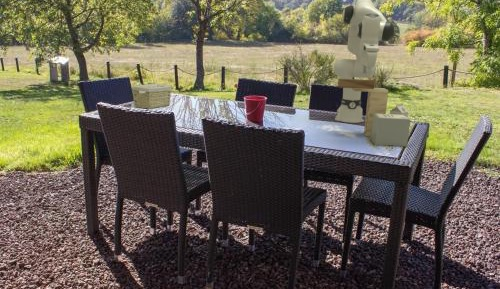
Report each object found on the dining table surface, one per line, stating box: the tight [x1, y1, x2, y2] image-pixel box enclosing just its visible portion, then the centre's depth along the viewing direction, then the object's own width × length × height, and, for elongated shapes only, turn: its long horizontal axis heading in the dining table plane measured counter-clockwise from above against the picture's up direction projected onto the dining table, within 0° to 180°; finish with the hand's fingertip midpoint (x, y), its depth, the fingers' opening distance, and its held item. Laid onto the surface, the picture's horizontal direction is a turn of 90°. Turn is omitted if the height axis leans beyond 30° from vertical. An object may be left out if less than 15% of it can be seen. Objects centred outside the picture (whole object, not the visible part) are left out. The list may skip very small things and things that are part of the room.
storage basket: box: [132, 83, 173, 110], centre depth 322 cm, size 24×16×15 cm
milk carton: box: [389, 103, 409, 118], centre depth 253 cm, size 7×7×19 cm
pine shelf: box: [352, 87, 389, 138], centre depth 257 cm, size 9×18×26 cm, turn 87°
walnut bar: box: [337, 78, 376, 89], centre depth 254 cm, size 4×19×4 cm, turn 87°
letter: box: [376, 113, 409, 119], centre depth 240 cm, size 11×14×1 cm
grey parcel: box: [370, 114, 411, 147], centre depth 242 cm, size 12×16×14 cm
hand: (366, 74), depth 238 cm, fingers open, 8 cm apart
